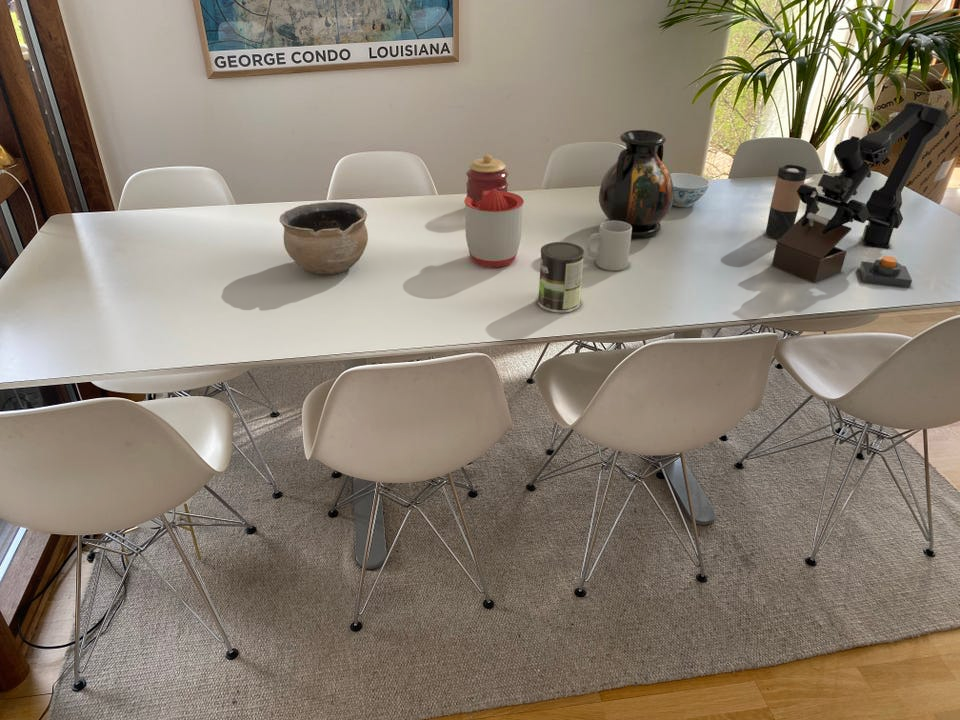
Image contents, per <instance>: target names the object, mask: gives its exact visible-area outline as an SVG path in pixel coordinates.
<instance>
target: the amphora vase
mask: <svg viewBox="0 0 960 720" xmlns="http://www.w3.org/2000/svg"><path fill="white" fill-rule="evenodd" d="M619 139H620V141H621V142H623V143H624V144H625V148H624V149H622V150H621V151H620V152H619V154H618V156H617V160H616V161H615V162H614V163H613V164H611V166H610V167H609V168H608V169H607V171H606V173H605V174H604V176H603V179H602V181H601V183H600V187H599V193H598V203H599V207H600V209H601V211H602V212H603V214H604V216H605V217H606V219H605V221H604V222H606V221H622V222H626V223H628V224H630V225H631V226H632V233H631V239H643V238H650V237H652V236H655V235H657V234H659V232H660V231H661V228H662V227H661V226H662V225H661V223H660V222H662V221H663V220H664V219H665V218H666V217H667V215H668V214H669V213H670V211H671V210H672V207H673V206H674V205H673V199H674V191H673V182H672V178H671V175H670V174H671V173H670V172H669V169H668V168H667V167H666V166H665V164H664V163H663V157H664V144H665V143H666V142H667V137H666V136H665V135H664V134H663V133H662V132H661V133H660V132H657V131H653V130H646V129H633V130H626V131H624V132H622V133H621V134H620V135H619Z"/></svg>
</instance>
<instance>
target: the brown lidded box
mask: <svg viewBox="0 0 960 720" xmlns="http://www.w3.org/2000/svg"><path fill="white" fill-rule="evenodd" d="M775 244H776V245H775V249H774V253H773V258H772V263H771V266H772V267H776V268H777V269H780V270H783V271H784V272H786V273H790V274H792V275H794V276H796V277H799V278H801V279H804V280H807V281H809V282H811V283H814V284H815V283H818V282H821V281H823V280H826V279H828V278H831V277H833V276H835V275H838V274H841V273H842V270H843V265H844V262H845V258H846V255H847V252H848V250H845V249H842V248H839V247H837V246H835V247H834V248H833V249H832V250H831V251H830V252H829V253H828V254H827V255H826V256H825V257H824V258H823V259H821V260H819V259H816V258H814V257H811V256H809V255H806V254H804V253H801V252H799V251H796V250H793V249H791V248H788V247H786V246H783V245H781V244H778V243H777V242H776V243H775Z"/></svg>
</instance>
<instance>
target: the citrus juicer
mask: <svg viewBox="0 0 960 720" xmlns="http://www.w3.org/2000/svg"><path fill="white" fill-rule="evenodd" d="M472 200H473V199H471V198H469V197H468V196H467V195H466V197H465V198H464V201H463V202H464V204H465V206H464V211H465V226H464V227H465V239H466V245H467V248H468V254H469V256H470V258H471V260H472V261H473V262H474V263H475V264H476V265H479V266H483V267H489V268H492V269H494V268H499V267H504V266H508V265H510V264H512V263H513V262H514V261H515V259H516V258H517V255H518V251H519V248H520V245H521V239H522V232H523V207H524V203H525V201H524V198H523V197H522V196H520V195H519V194H516V193H514V192H511V191H507V192H506V191H497V190H496V189H492V190H491V191H482V201H479V202H477V203H472Z"/></svg>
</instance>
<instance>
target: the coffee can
mask: <svg viewBox="0 0 960 720" xmlns="http://www.w3.org/2000/svg"><path fill="white" fill-rule="evenodd" d="M584 256H585V249H584V248H583V247H582V246H581V245H578V244H576V243H572V242H567V241H555V242H549V243H546V244H544V245H542V246H541V248H540V267H539V285H538V298H537V304H538V306H539V307H540V308H541V309H543V310H544V311H547V312H552V313H556V314H565V313H571V312H573V311H575V310H577V309H578V308H579V307H580V305H581V303H580V298H581V289H582V287H581V286H582V276H583V266H584V265H583V264H584Z"/></svg>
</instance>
